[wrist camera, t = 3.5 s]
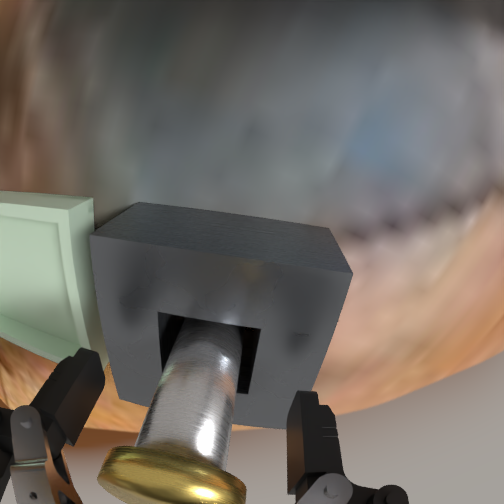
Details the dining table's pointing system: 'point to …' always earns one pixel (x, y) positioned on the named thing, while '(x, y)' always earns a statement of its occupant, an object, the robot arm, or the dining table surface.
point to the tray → (48, 275)
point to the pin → (185, 426)
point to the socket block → (218, 298)
